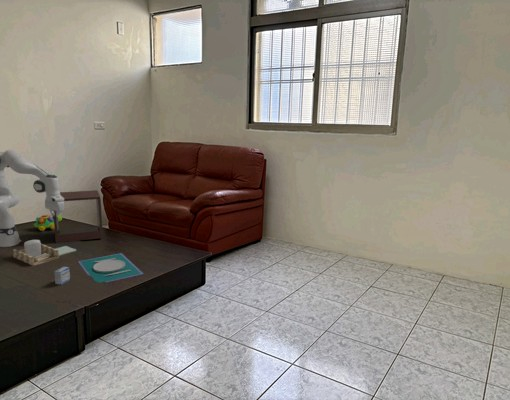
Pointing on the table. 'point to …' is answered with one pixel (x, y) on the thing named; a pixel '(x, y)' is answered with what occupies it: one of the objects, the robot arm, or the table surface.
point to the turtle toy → (45, 222)
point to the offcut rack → (30, 259)
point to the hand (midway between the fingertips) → (55, 216)
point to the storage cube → (82, 232)
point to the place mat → (110, 268)
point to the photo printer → (32, 248)
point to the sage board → (65, 250)
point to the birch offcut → (41, 257)
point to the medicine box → (62, 275)
